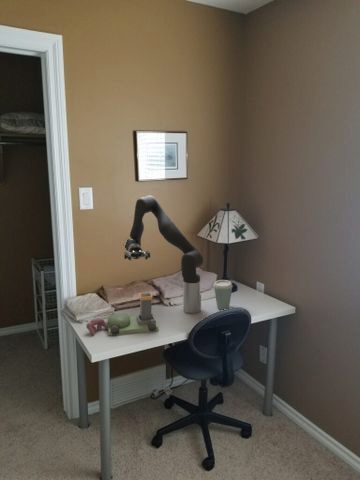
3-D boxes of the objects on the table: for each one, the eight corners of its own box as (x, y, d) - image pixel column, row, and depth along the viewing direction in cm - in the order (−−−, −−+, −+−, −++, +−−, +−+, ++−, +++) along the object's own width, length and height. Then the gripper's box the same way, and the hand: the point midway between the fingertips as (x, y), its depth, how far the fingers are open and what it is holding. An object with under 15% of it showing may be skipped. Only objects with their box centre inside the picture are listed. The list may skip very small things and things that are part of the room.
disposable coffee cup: (231, 312, 214) (232, 286, 211) (211, 310, 216) (212, 284, 213) (232, 304, 224) (233, 280, 221) (214, 303, 226) (214, 278, 223)
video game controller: (104, 330, 196) (100, 316, 196) (109, 328, 193) (105, 315, 193) (88, 336, 188) (83, 323, 189) (93, 335, 185) (88, 321, 186)
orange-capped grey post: (151, 318, 201) (150, 292, 198) (152, 322, 195) (152, 296, 192) (139, 319, 200) (138, 293, 197) (140, 324, 194) (140, 297, 191)
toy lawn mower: (153, 317, 207) (153, 308, 206) (158, 330, 191) (158, 321, 190) (107, 321, 202) (107, 312, 201) (108, 335, 186) (108, 325, 185)
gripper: (122, 245, 223) (124, 252, 207) (147, 244, 226) (151, 250, 210) (123, 258, 224) (125, 265, 209) (147, 256, 227) (151, 264, 212)
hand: (138, 258), depth 210 cm, fingers open, 8 cm apart
